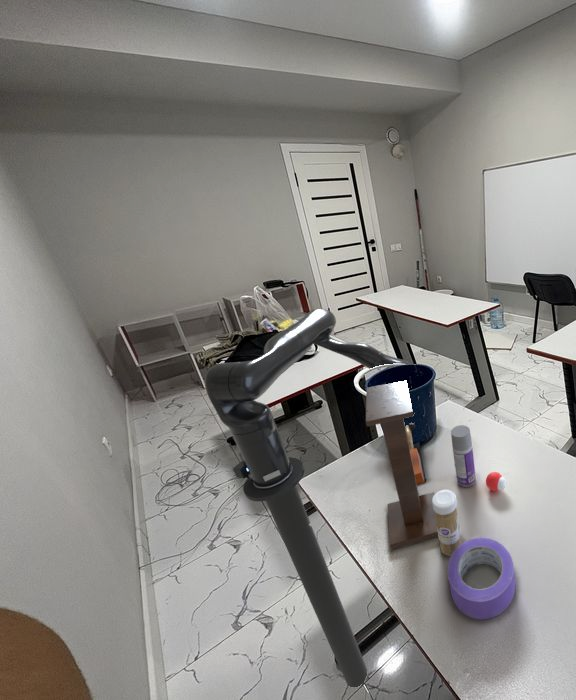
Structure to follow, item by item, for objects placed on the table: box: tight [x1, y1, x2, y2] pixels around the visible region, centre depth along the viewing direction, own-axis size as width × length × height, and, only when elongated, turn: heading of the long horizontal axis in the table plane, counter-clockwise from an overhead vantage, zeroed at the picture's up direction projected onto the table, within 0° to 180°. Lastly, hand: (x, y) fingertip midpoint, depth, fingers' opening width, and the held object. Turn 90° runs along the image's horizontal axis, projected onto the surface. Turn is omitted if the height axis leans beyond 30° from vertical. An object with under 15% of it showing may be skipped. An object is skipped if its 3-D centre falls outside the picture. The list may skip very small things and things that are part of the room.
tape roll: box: [447, 536, 516, 620], centre depth 64 cm, size 12×12×5 cm
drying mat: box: [413, 442, 427, 482], centre depth 96 cm, size 16×7×1 cm, turn 14°
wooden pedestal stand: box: [365, 380, 439, 551], centre depth 72 cm, size 12×11×32 cm
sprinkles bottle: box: [432, 489, 463, 557], centre depth 70 cm, size 5×5×13 cm
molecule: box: [485, 471, 507, 492], centre depth 84 cm, size 5×5×4 cm
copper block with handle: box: [405, 425, 426, 486], centre depth 92 cm, size 23×4×4 cm, turn 14°
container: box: [450, 424, 477, 488], centre depth 85 cm, size 5×5×15 cm
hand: (406, 429), depth 97 cm, fingers closed on copper block with handle, 2 cm apart
